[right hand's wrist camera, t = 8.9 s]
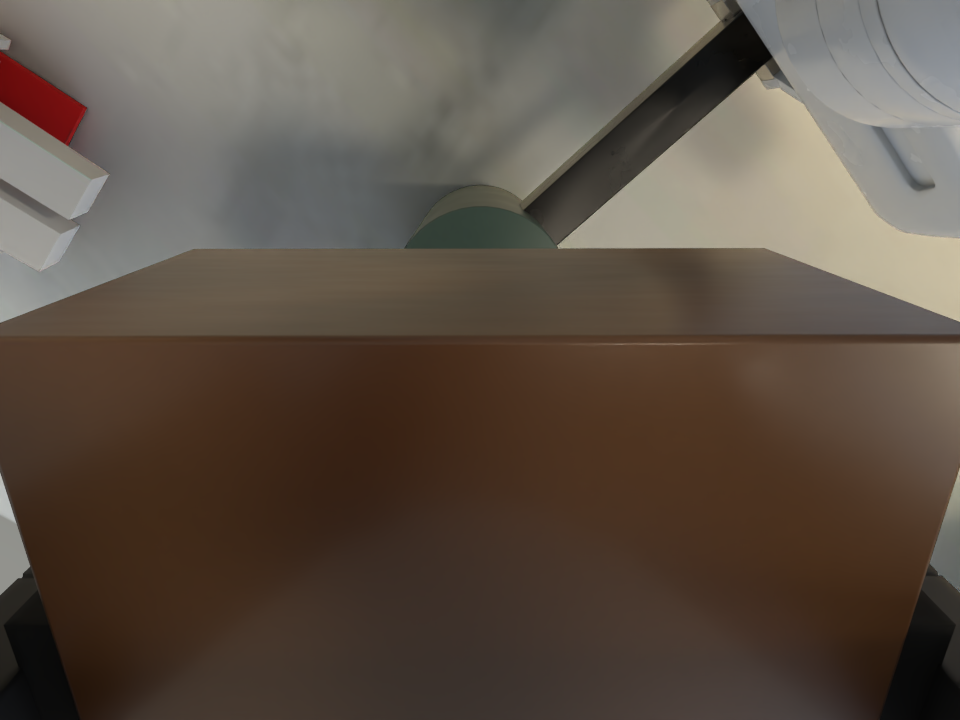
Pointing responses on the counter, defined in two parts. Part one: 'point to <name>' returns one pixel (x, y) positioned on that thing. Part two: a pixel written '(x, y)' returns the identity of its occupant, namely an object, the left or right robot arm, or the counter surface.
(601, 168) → the green mallet
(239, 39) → the counter surface
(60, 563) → the brown square block
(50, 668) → the right robot arm
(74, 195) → the toy
